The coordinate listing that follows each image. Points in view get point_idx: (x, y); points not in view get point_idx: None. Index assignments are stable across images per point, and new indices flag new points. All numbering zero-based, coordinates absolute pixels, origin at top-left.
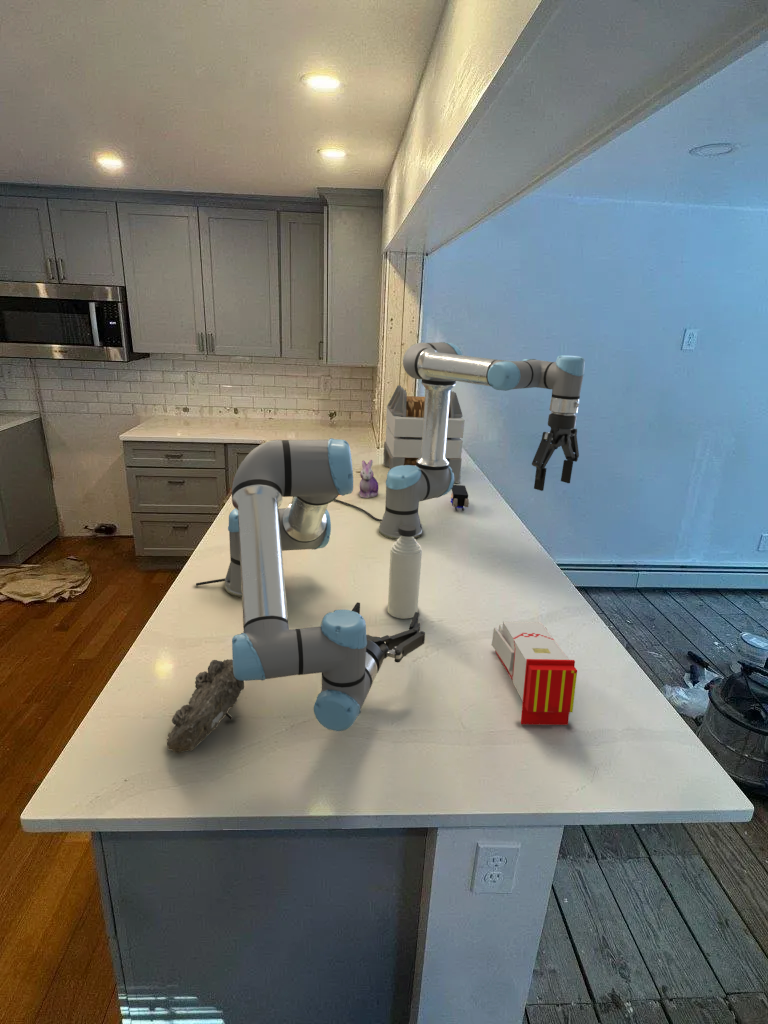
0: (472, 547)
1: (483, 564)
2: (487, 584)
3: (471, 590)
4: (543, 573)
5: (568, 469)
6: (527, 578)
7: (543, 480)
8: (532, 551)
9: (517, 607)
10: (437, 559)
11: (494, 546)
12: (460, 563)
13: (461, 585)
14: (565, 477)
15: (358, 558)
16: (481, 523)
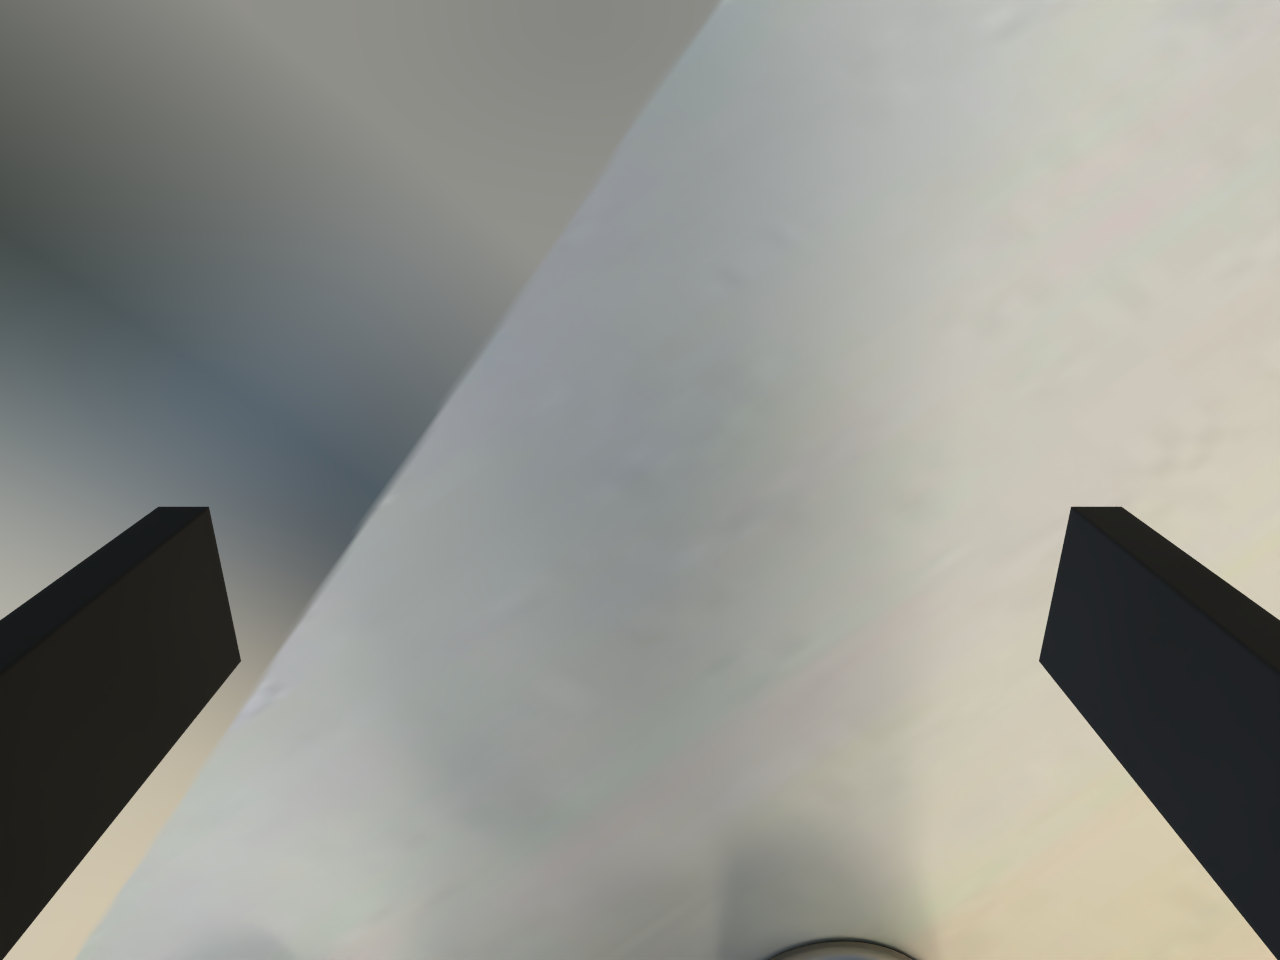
0: (677, 733)
1: (821, 564)
2: (1036, 388)
3: (1171, 393)
4: (628, 274)
5: (30, 723)
6: (776, 293)
7: (1262, 614)
8: (409, 513)
9: (1185, 78)
10: (964, 735)
11: (557, 679)
12: (912, 641)
13: (1154, 466)
14: (172, 636)
15: (1238, 924)
16: (358, 902)
